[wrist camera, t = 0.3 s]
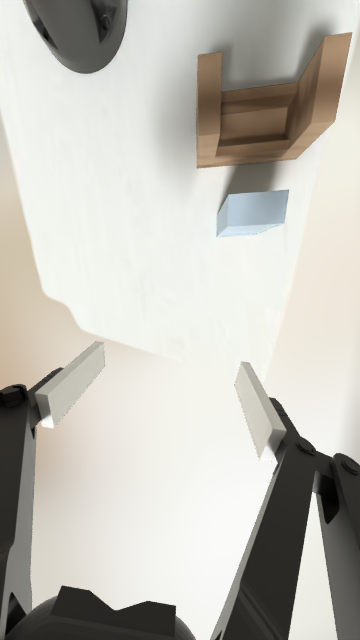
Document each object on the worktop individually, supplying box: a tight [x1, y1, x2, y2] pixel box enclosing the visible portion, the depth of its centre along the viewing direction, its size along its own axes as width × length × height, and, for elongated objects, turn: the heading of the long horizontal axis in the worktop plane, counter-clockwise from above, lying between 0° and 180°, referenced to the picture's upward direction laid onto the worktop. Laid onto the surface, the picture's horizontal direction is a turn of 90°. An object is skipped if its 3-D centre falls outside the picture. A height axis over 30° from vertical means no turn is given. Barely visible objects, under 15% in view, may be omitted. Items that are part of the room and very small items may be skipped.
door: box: [216, 190, 289, 237], centre depth 29 cm, size 4×8×12 cm, turn 93°
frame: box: [196, 32, 352, 168], centre depth 26 cm, size 8×18×9 cm, turn 93°
